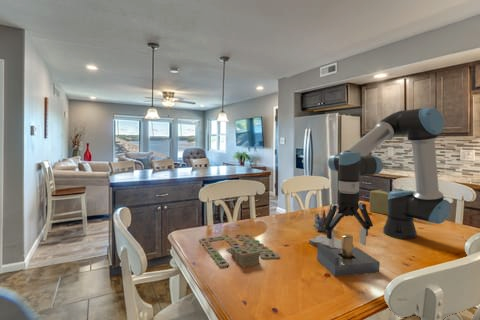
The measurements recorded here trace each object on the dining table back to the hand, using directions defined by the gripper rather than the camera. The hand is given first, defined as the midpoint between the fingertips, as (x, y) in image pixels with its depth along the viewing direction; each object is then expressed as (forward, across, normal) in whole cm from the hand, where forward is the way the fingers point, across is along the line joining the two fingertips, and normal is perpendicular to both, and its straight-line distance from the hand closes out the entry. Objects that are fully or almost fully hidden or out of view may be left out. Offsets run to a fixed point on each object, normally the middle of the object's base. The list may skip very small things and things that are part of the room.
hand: (347, 245), depth 104 cm
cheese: (+8, +70, +63) cm, 94 cm away
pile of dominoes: (+9, -40, +24) cm, 47 cm away
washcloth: (+9, +4, +20) cm, 22 cm away
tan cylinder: (+8, 0, 0) cm, 8 cm away
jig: (+8, 0, 0) cm, 8 cm away
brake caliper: (+8, +12, +43) cm, 45 cm away
